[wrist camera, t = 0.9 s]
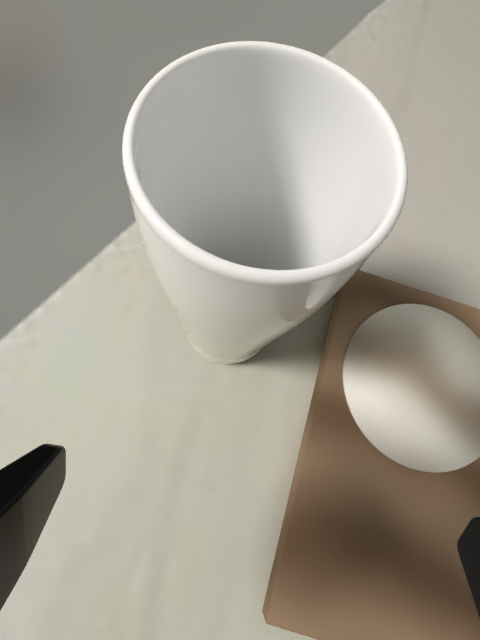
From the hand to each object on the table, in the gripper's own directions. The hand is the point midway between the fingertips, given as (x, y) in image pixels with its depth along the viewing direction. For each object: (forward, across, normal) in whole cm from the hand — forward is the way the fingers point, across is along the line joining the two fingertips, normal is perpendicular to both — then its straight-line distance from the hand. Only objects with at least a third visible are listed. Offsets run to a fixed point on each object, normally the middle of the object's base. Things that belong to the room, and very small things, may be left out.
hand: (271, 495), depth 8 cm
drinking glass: (+15, +1, +3) cm, 15 cm away
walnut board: (+11, -10, +7) cm, 17 cm away
